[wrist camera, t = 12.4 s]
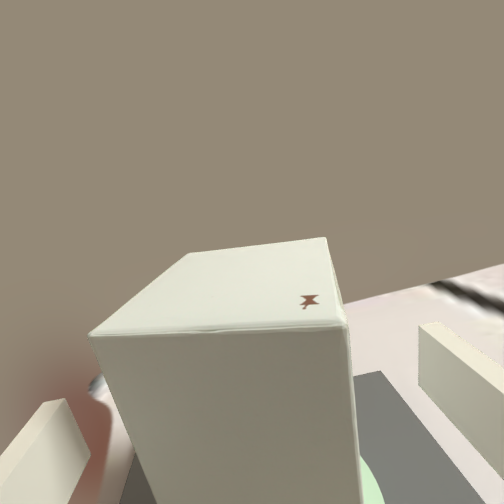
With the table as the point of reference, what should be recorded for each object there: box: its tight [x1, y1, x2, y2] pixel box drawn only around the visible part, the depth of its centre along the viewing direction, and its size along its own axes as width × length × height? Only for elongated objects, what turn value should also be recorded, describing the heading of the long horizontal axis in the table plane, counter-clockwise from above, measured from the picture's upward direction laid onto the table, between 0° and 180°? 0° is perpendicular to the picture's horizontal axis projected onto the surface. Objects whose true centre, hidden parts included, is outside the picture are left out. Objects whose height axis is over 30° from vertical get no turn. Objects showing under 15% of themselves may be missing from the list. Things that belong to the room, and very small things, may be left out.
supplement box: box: [87, 237, 364, 504], centre depth 12 cm, size 7×7×13 cm
